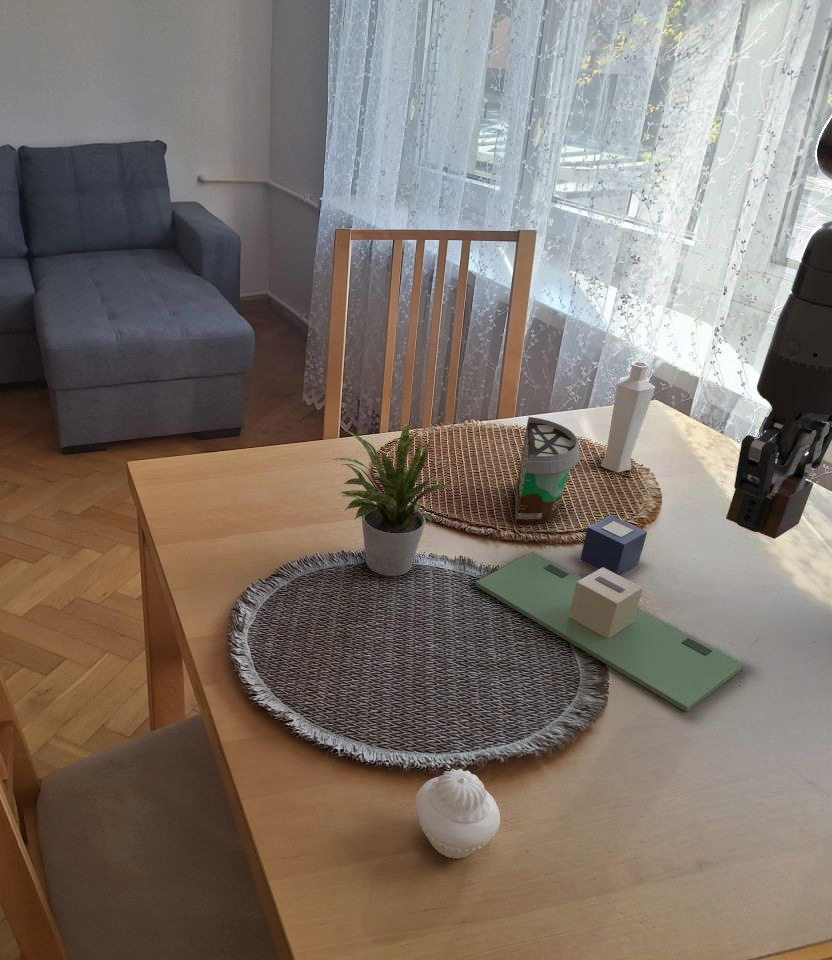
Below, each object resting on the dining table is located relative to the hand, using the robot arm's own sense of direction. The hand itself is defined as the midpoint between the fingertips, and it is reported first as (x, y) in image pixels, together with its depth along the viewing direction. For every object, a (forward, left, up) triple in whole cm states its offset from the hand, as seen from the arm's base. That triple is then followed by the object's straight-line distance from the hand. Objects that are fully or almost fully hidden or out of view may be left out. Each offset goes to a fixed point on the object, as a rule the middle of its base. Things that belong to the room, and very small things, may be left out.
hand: (763, 518), depth 81 cm
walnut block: (0, 0, 0) cm, 0 cm away
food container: (-6, -26, -14) cm, 30 cm away
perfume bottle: (-24, -27, -14) cm, 38 cm away
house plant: (+18, -30, -14) cm, 38 cm away
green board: (+9, -8, -13) cm, 18 cm away
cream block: (+9, -8, -13) cm, 18 cm away
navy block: (-2, -14, -13) cm, 19 cm away
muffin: (+42, +1, -14) cm, 45 cm away
